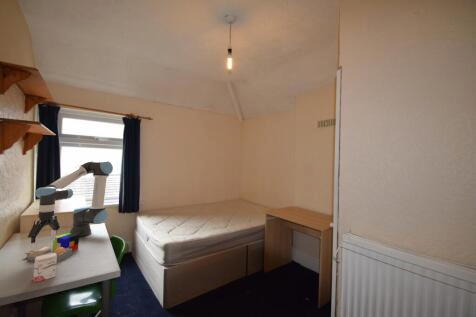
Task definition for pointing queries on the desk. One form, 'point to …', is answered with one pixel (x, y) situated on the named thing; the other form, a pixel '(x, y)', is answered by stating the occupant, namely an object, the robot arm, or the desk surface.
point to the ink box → (45, 267)
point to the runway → (47, 251)
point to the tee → (29, 253)
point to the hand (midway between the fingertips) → (44, 243)
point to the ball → (59, 250)
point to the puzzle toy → (66, 241)
